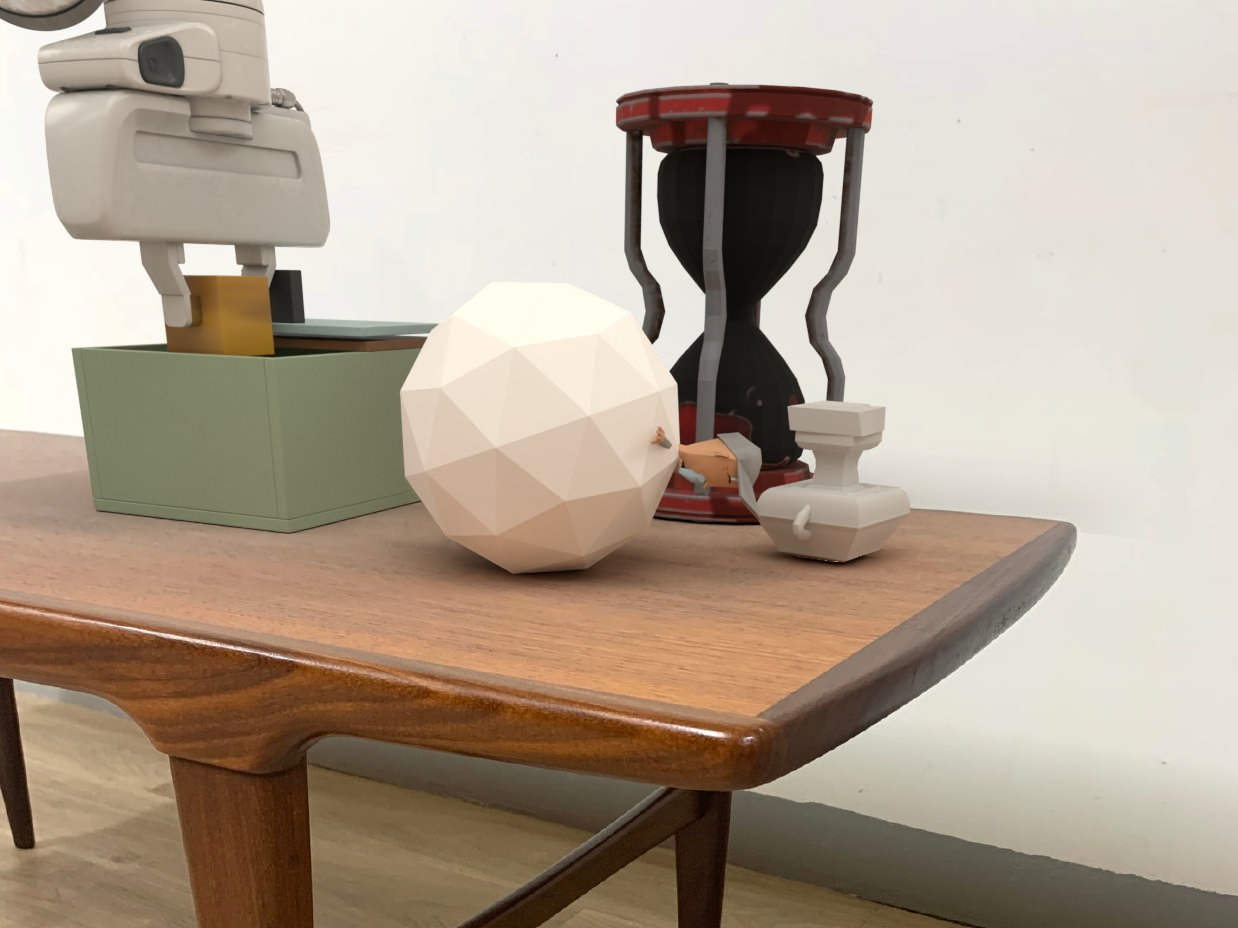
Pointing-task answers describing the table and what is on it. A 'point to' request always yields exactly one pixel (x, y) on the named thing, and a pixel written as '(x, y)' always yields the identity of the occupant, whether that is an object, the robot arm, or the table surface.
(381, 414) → the case
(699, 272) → the hourglass
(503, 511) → the person on sphere
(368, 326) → the blue-grey flat panel
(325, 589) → the table surface
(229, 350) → the block
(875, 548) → the beige squat bottle
